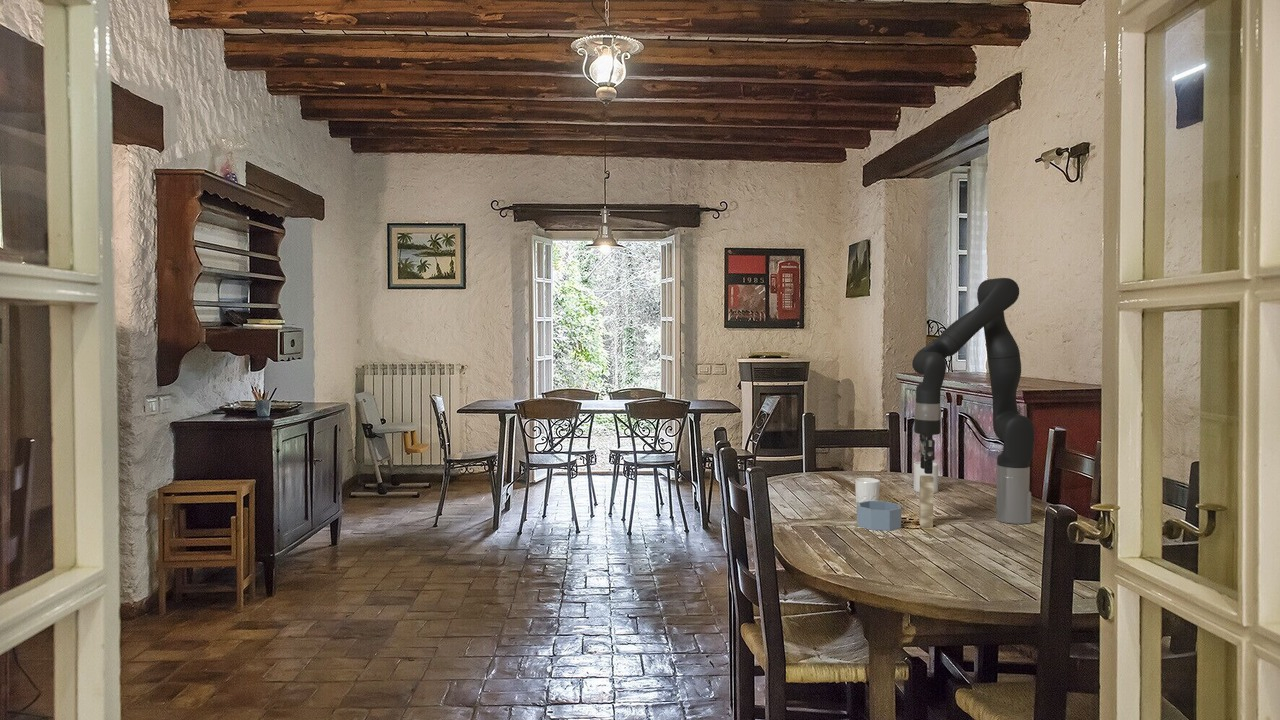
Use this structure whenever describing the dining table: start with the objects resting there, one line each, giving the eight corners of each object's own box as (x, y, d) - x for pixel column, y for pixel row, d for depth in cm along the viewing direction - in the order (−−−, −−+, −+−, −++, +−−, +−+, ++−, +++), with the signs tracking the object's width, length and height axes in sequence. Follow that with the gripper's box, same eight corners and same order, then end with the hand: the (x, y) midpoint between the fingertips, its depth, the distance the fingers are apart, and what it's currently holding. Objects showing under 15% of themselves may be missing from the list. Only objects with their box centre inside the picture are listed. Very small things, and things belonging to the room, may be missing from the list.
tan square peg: (931, 524, 243) (931, 475, 243) (932, 527, 240) (933, 477, 239) (919, 523, 244) (919, 475, 243) (920, 526, 241) (921, 477, 240)
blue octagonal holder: (897, 520, 248) (898, 501, 247) (902, 531, 235) (902, 511, 235) (855, 519, 250) (856, 500, 250) (858, 529, 238) (858, 509, 238)
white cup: (852, 511, 260) (852, 481, 260) (857, 506, 267) (857, 477, 267) (876, 514, 257) (877, 483, 256) (881, 509, 264) (882, 479, 263)
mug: (912, 486, 298) (912, 459, 298) (935, 487, 296) (936, 460, 295) (914, 493, 287) (914, 465, 286) (938, 494, 284) (939, 466, 284)
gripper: (944, 421, 233) (943, 476, 233) (936, 415, 247) (935, 467, 247) (917, 420, 234) (916, 474, 235) (911, 414, 248) (910, 466, 249)
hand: (926, 471), depth 241 cm, fingers open, 8 cm apart
